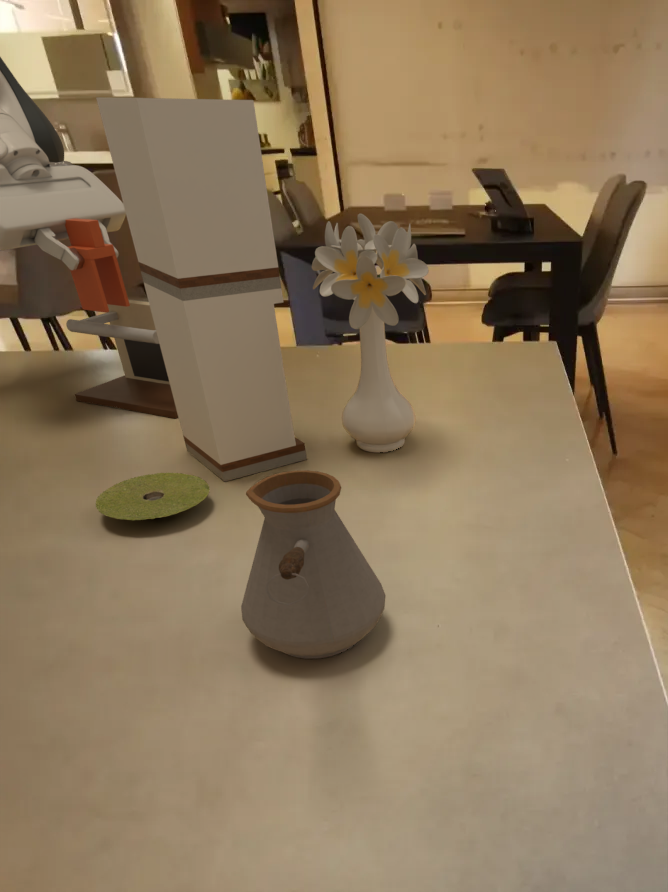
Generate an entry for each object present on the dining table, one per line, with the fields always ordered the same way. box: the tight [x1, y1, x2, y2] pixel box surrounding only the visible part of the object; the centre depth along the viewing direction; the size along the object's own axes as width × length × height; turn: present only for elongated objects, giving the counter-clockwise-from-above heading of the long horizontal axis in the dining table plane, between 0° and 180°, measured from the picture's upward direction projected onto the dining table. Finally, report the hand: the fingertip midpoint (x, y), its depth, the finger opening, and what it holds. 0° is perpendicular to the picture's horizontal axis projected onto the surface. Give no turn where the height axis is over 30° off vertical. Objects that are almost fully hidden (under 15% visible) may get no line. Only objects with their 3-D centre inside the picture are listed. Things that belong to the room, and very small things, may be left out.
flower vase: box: [311, 213, 430, 454], centre depth 82 cm, size 13×18×25 cm
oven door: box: [65, 299, 179, 419], centre depth 100 cm, size 11×18×12 cm, turn 68°
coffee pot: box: [240, 469, 387, 660], centre depth 50 cm, size 21×12×15 cm, turn 11°
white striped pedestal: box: [95, 96, 308, 482], centre depth 76 cm, size 11×11×35 cm
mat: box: [95, 472, 210, 521], centre depth 74 cm, size 11×11×2 cm
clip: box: [65, 218, 130, 313], centre depth 89 cm, size 4×4×10 cm
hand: (96, 262), depth 89 cm, fingers closed on clip, 4 cm apart
